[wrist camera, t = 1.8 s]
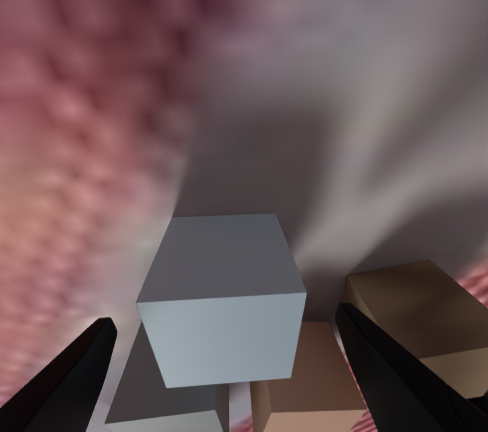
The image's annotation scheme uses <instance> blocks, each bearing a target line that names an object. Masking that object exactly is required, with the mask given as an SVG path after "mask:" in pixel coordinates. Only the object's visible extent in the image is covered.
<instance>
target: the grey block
mask: <svg viewBox="0 0 488 432" xmlns="http://www.w3.org/2000/svg"><path fill="white" fill-rule="evenodd" d="M105 425H106V426H107V427H108V428H109V429H110V430H111V431H112V432H229V383H222V384H210V385H198V386H186V387H174V388H166V385H165V382H164V380H163V377H162V374H161V371H160V369H159V366H158V363H157V360H156V358H155V355H154V352H153V349H152V347H151V344H150V341H149V338H148V336H147V333H146V330H145V327H144V324H141V325H140V328H139V330H138V333H137V336H136V339H135V341H134V344H133V347H132V350H131V352H130V355H129V358H128V361H127V363H126V366H125V369H124V372H123V374H122V377H121V380H120V383H119V385H118V388H117V391H116V394H115V396H114V399H113V402H112V405H111V407H110V410H109V413H108V416H107V418H106V421H105Z"/></svg>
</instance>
